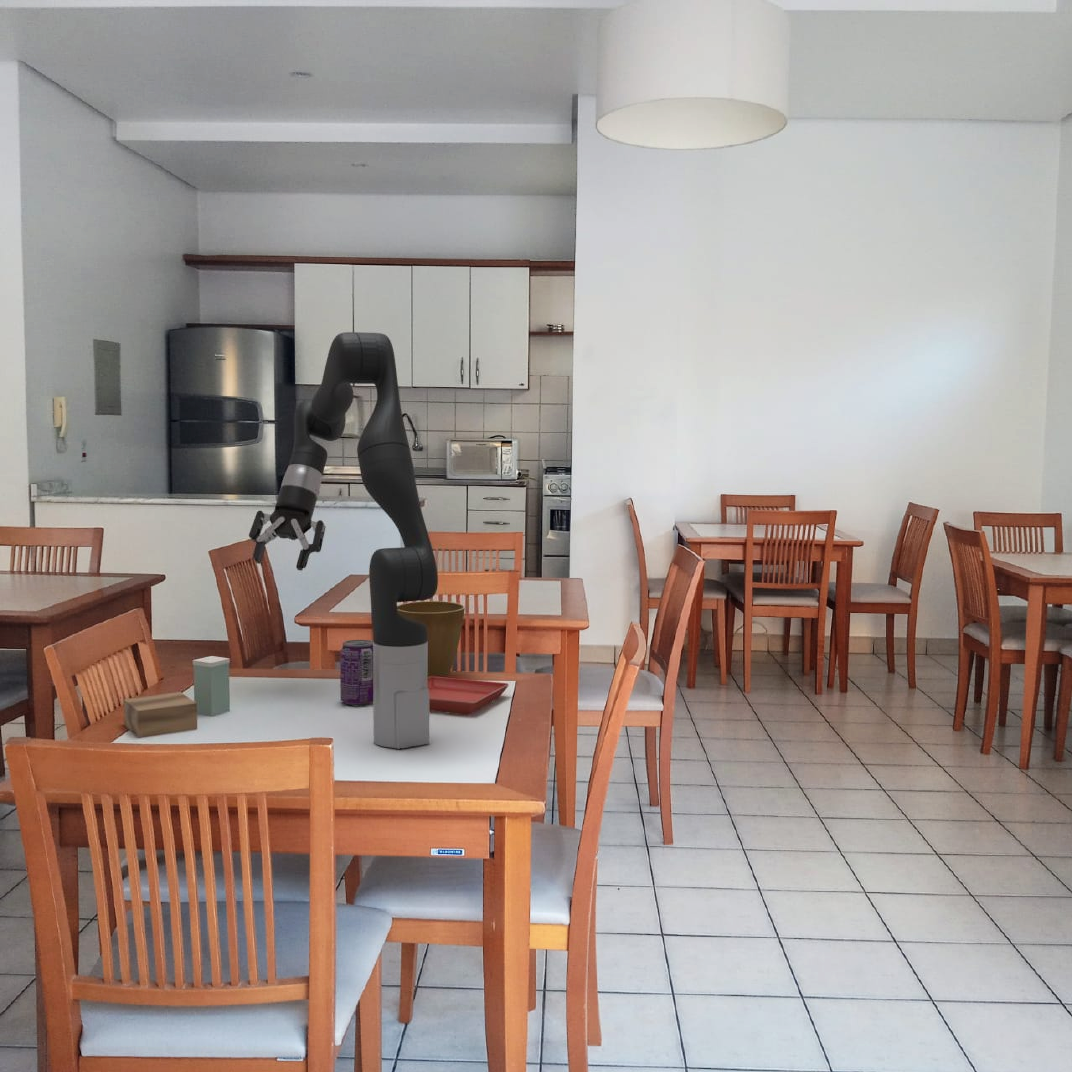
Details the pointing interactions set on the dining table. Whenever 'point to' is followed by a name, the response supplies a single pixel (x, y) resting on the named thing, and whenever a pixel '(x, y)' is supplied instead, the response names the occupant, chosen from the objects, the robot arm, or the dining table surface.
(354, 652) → the beverage can
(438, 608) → the plant pot
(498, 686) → the plant saucer
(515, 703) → the dining table surface
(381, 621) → the robot arm
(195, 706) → the walnut box
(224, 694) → the tea tin
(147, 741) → the dining table surface
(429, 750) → the dining table surface
